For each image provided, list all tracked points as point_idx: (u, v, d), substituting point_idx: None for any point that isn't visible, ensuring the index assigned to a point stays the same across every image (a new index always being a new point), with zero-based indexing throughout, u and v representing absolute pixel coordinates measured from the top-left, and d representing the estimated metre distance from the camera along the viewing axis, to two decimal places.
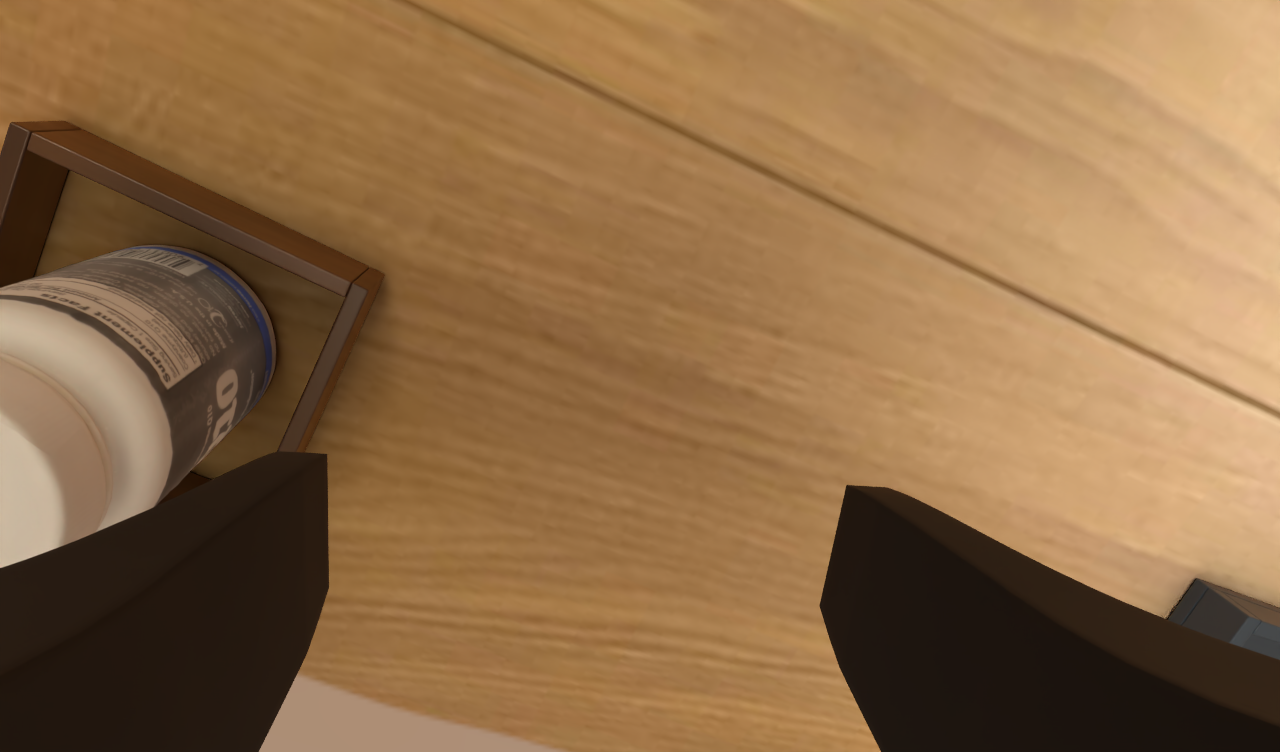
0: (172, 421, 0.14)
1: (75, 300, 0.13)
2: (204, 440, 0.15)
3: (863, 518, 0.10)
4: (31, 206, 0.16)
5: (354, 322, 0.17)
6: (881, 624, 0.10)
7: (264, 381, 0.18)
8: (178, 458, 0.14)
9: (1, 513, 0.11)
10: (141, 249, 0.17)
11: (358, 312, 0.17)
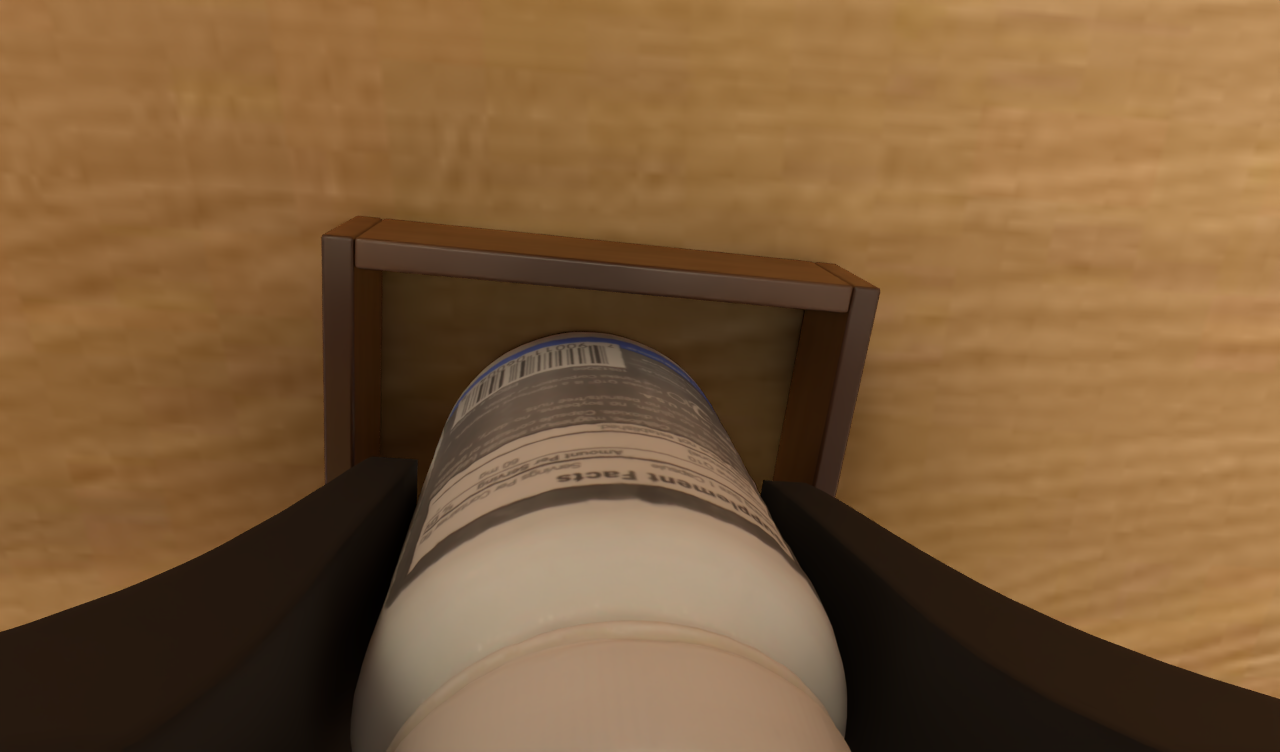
0: None
1: (605, 468, 0.07)
2: None
3: (775, 513, 0.10)
4: (367, 352, 0.11)
5: (867, 345, 0.11)
6: None
7: None
8: None
9: None
10: (526, 355, 0.11)
11: (871, 328, 0.11)
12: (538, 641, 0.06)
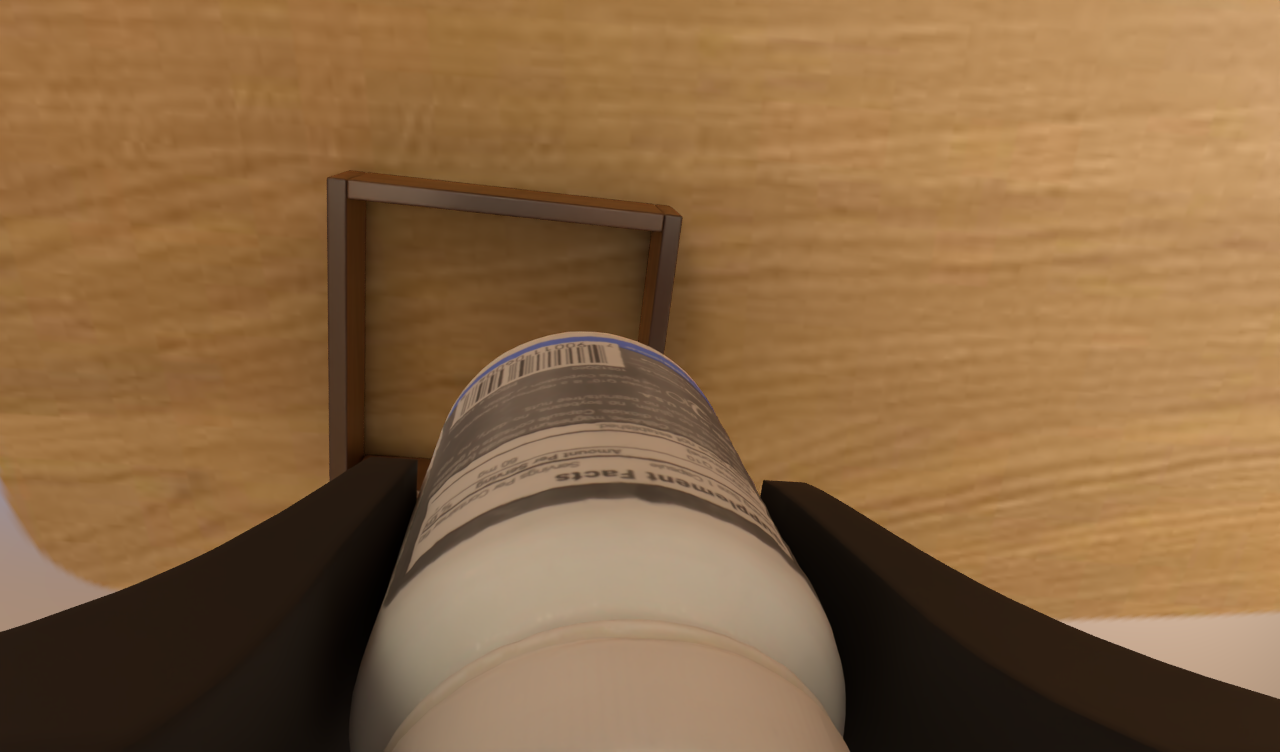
0: (822, 611, 0.08)
1: (603, 467, 0.07)
2: None
3: (775, 513, 0.10)
4: (356, 257, 0.17)
5: (677, 253, 0.17)
6: None
7: None
8: None
9: None
10: (525, 355, 0.11)
11: (678, 242, 0.17)
12: (536, 640, 0.06)
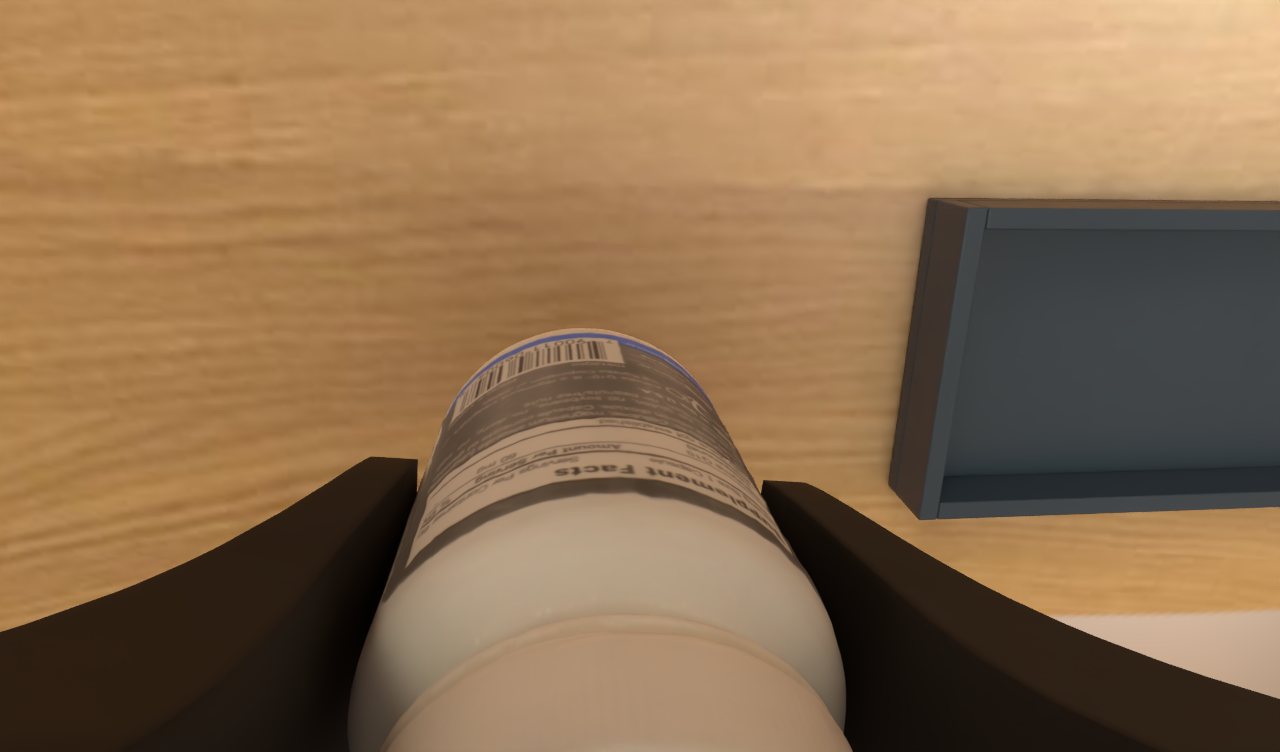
0: None
1: (603, 462, 0.07)
2: None
3: (775, 513, 0.10)
4: None
5: None
6: None
7: None
8: None
9: None
10: (524, 351, 0.11)
11: None
12: (534, 633, 0.06)
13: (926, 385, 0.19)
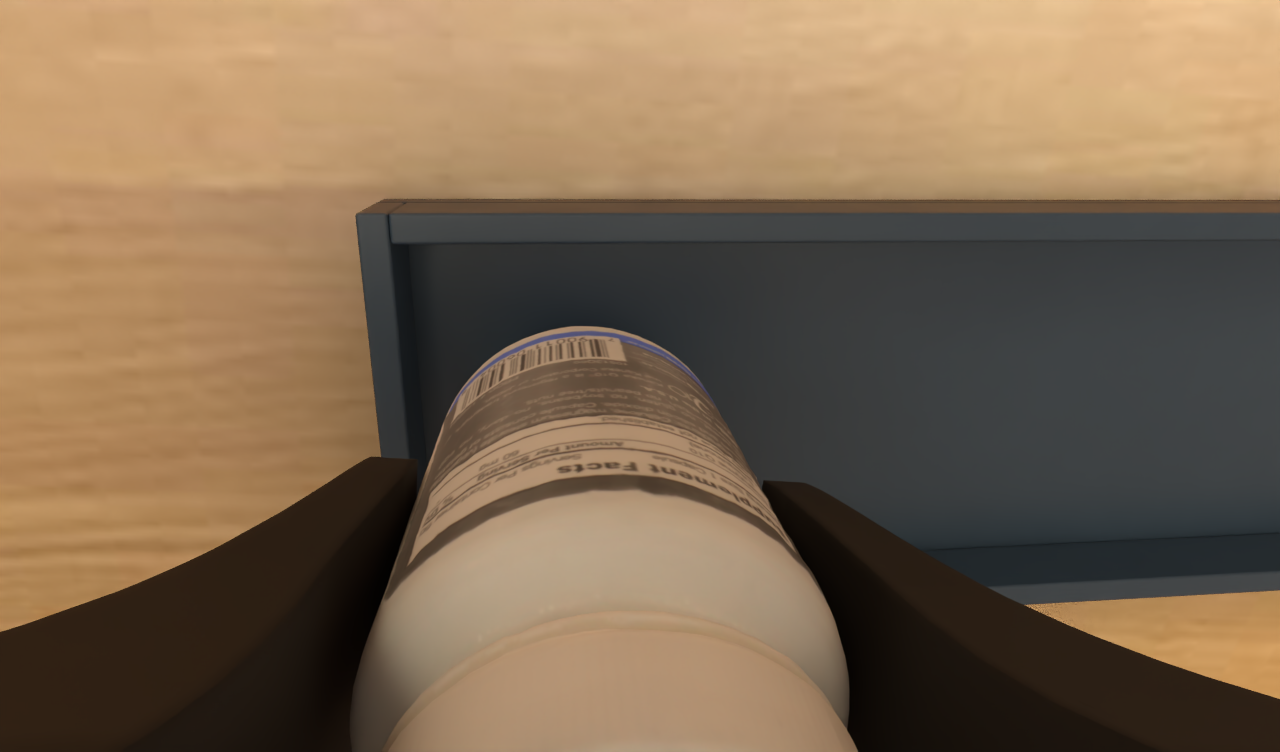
0: None
1: (606, 458, 0.07)
2: None
3: (775, 513, 0.10)
4: None
5: None
6: None
7: None
8: None
9: None
10: (526, 349, 0.11)
11: None
12: (538, 630, 0.06)
13: None
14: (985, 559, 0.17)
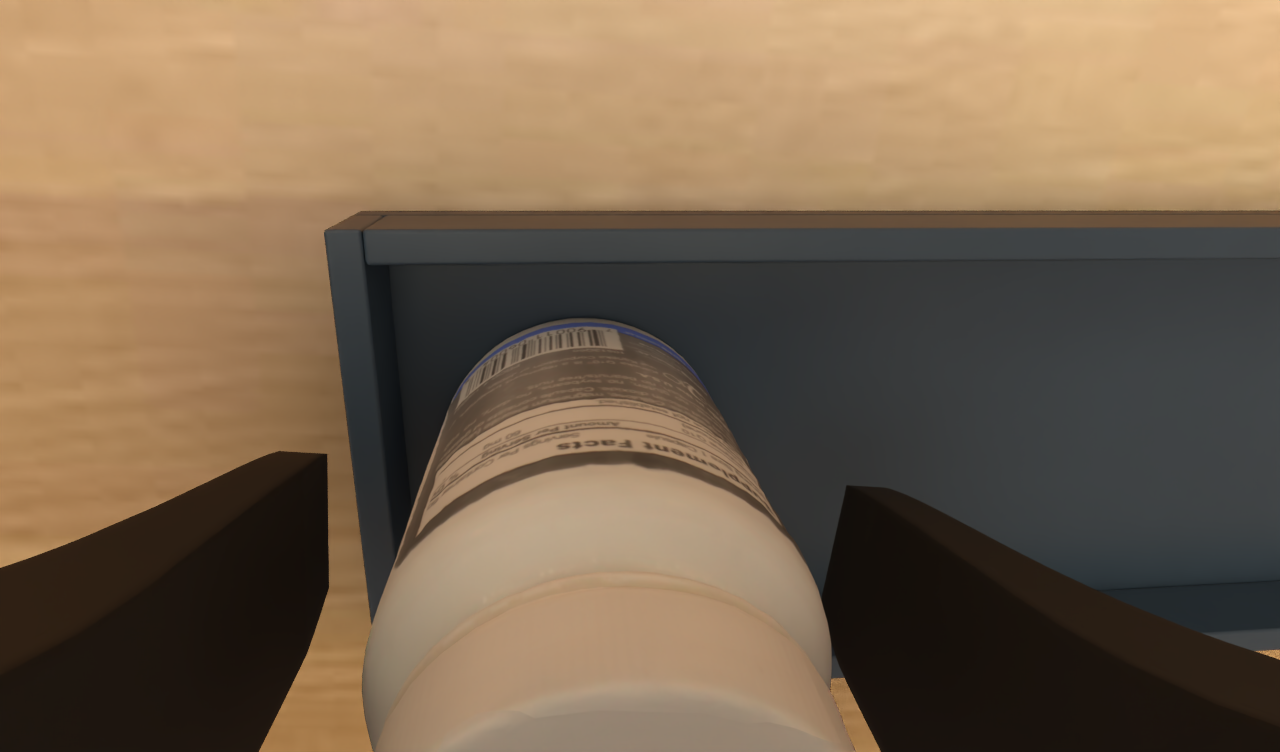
0: None
1: (602, 437, 0.08)
2: None
3: (863, 518, 0.10)
4: None
5: None
6: (881, 624, 0.10)
7: None
8: None
9: None
10: (527, 340, 0.12)
11: None
12: (539, 589, 0.06)
13: None
14: None
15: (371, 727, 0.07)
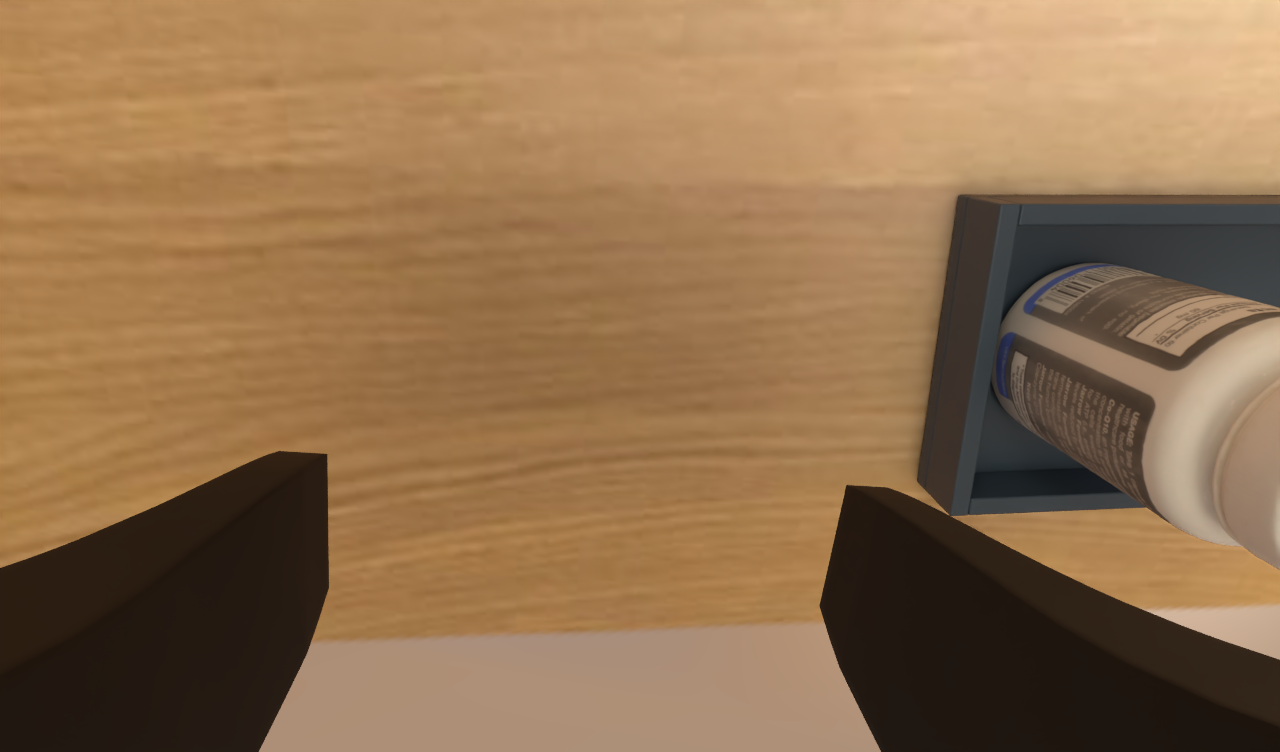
0: None
1: (1264, 307, 0.15)
2: None
3: (863, 518, 0.10)
4: None
5: None
6: (881, 624, 0.10)
7: None
8: None
9: None
10: (1079, 274, 0.19)
11: None
12: None
13: (957, 381, 0.20)
14: None
15: (1173, 448, 0.14)
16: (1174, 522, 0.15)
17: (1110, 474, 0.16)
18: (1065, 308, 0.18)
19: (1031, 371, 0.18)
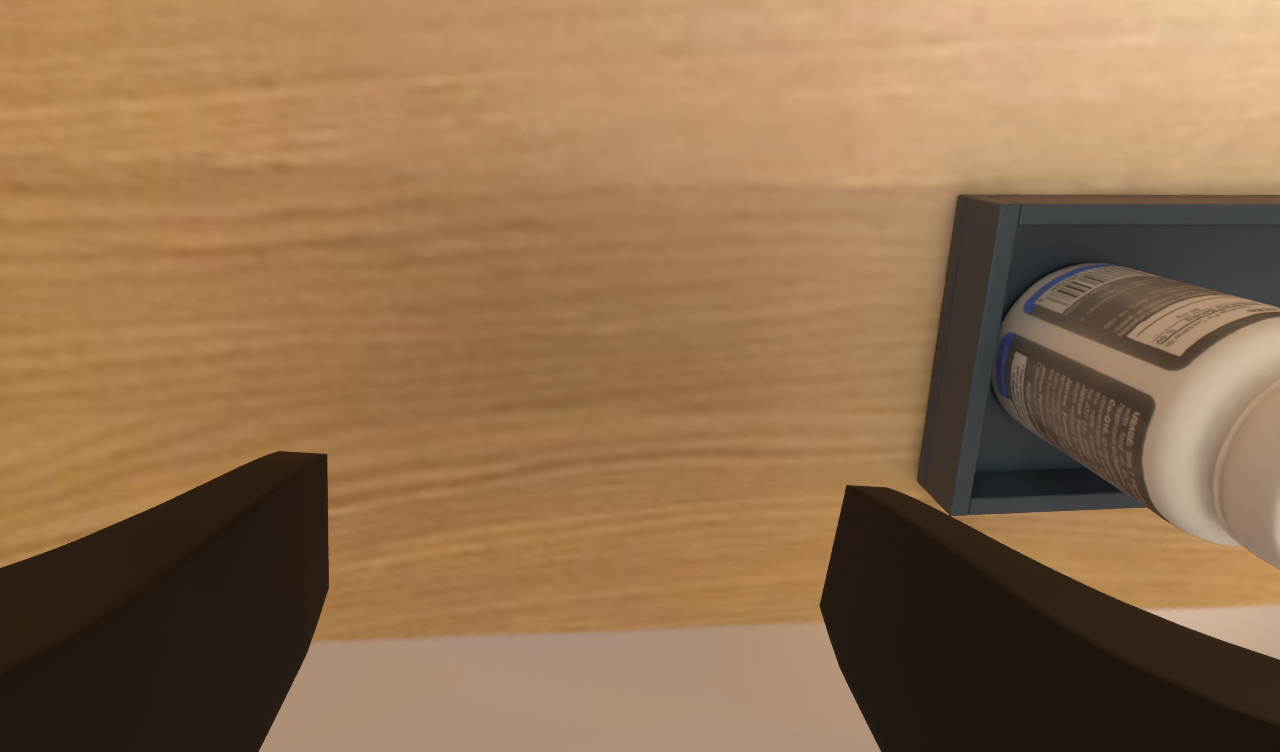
0: None
1: (1264, 307, 0.15)
2: None
3: (863, 518, 0.10)
4: None
5: None
6: (881, 624, 0.10)
7: None
8: None
9: None
10: (1080, 274, 0.19)
11: None
12: None
13: (957, 381, 0.20)
14: None
15: (1173, 448, 0.14)
16: (1174, 522, 0.15)
17: (1110, 474, 0.16)
18: (1065, 308, 0.18)
19: (1031, 371, 0.18)
